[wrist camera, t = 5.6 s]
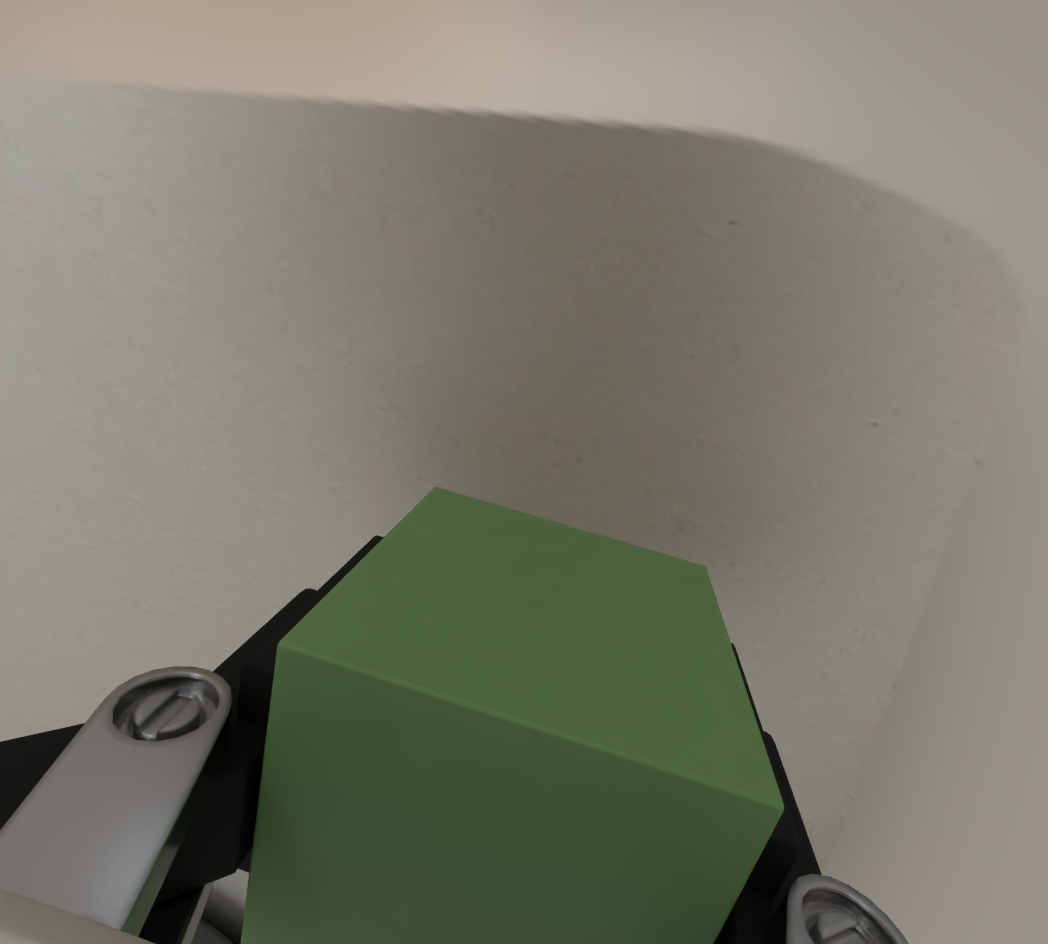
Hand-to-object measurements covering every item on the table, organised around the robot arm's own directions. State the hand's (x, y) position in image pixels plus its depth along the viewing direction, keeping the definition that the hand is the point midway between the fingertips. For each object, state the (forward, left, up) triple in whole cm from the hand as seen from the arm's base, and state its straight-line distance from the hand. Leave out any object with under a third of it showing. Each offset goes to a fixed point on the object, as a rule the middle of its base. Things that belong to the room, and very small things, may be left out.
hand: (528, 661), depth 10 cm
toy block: (0, 0, -1) cm, 1 cm away
